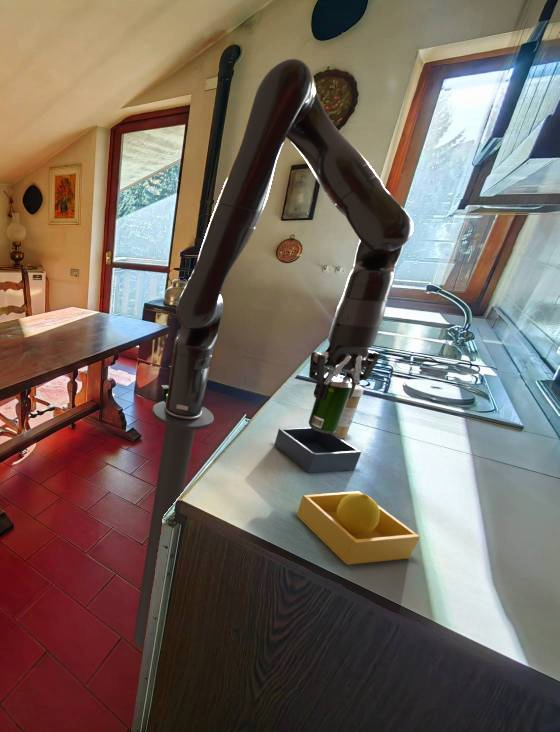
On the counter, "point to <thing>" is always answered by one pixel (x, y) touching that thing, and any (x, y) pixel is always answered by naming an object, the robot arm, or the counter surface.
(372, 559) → the yellow bin
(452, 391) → the counter surface
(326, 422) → the beer can
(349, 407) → the sprinkles bottle
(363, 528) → the lemon
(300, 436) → the slate bin
